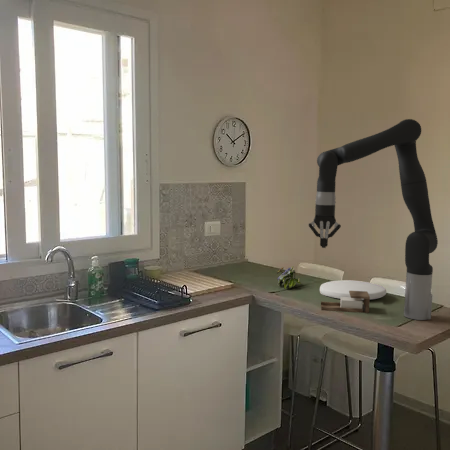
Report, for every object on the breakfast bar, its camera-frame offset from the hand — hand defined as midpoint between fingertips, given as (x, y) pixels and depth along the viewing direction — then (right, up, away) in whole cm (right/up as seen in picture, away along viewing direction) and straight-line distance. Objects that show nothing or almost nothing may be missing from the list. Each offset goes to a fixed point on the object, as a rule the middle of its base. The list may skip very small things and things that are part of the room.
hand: (323, 247), depth 204 cm
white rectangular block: (+11, -24, +1) cm, 27 cm away
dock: (+8, -25, +2) cm, 27 cm away
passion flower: (-9, -20, +39) cm, 45 cm away
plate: (+17, -23, +25) cm, 38 cm away
